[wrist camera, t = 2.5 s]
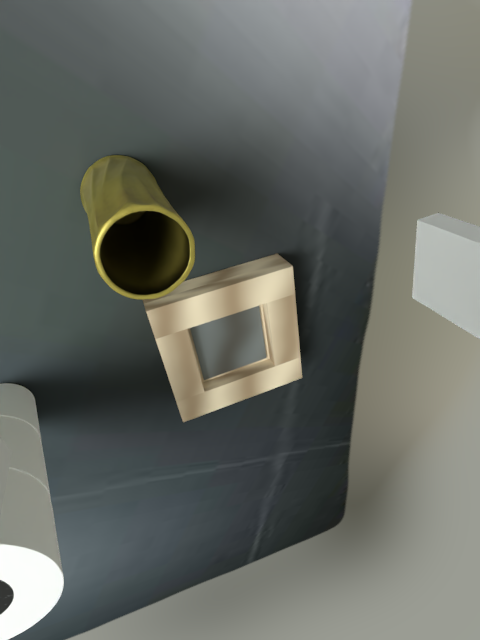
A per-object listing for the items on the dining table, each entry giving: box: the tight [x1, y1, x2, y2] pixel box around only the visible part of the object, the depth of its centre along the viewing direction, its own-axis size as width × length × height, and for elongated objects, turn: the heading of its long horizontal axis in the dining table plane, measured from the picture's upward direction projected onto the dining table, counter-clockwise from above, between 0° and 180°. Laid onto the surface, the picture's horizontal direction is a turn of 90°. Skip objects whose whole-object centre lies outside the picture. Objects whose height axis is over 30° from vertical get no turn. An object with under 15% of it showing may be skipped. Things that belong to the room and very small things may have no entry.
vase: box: [80, 155, 195, 299], centre depth 26 cm, size 6×6×14 cm
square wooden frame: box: [142, 254, 302, 422], centre depth 41 cm, size 14×14×4 cm
